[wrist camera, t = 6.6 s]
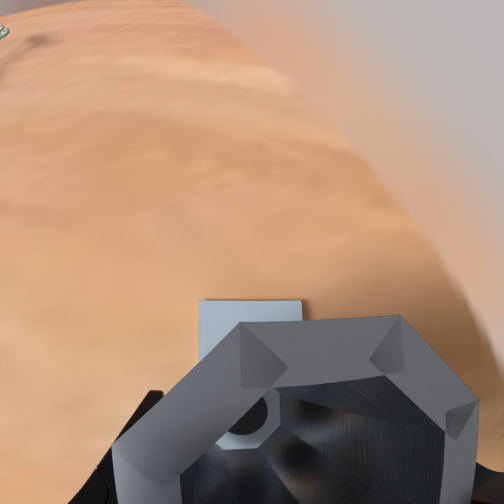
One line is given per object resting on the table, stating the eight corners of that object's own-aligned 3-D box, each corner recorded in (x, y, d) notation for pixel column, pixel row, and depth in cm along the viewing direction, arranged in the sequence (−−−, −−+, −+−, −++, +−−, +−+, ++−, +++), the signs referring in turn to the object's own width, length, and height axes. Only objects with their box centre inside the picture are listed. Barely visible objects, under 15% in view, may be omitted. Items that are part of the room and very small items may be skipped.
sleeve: (297, 459, 14) (454, 570, 3) (182, 464, 14) (151, 632, 2) (294, 352, 16) (472, 307, 5) (178, 354, 16) (109, 317, 4)
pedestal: (304, 473, 16) (323, 491, 13) (204, 481, 15) (205, 503, 12) (298, 302, 20) (316, 289, 17) (199, 302, 19) (198, 289, 16)
